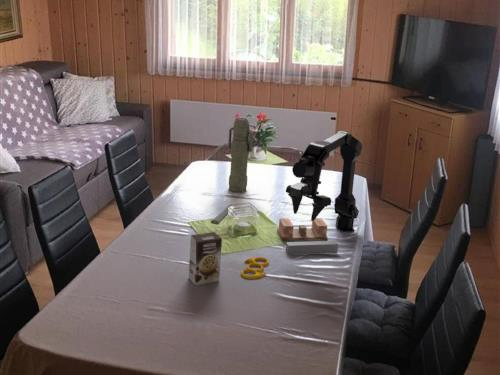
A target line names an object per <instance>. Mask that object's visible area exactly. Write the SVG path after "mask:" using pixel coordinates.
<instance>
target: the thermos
mask: <svg viewBox="0 0 500 375" xmlns="http://www.w3.org/2000/svg"><path fill="white" fill-rule="evenodd" d="M232 135H233V136H232ZM253 143H254V132H253V130H250V122H249V120H248V119H247V118H245V117H238V118H236V119H234V123H233V126H232V127H230V129H228V145H227V146H228V149H229V150H230V156H231V160H230V174H229V177H228V191H230V192H231V193H237V194H239V193H241V194H242V193H245V192H247V186H248V160H249V159H248V158H249V156H250V152H252V151H253Z"/></svg>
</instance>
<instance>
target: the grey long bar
mask: <svg viewBox="0 0 500 375" xmlns="http://www.w3.org/2000/svg"><path fill="white" fill-rule="evenodd" d="M338 251H339V243H338V242H337V240H311V241H289V242H288V241H287V242H286V243H285V253H286V254H287V255H307V254H308V255H310V254H312V255H313V254H314V255H315V254H337V253H338Z"/></svg>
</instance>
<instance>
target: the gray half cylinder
mask: <svg viewBox="0 0 500 375" xmlns="http://www.w3.org/2000/svg"><path fill="white" fill-rule="evenodd" d="M229 206H233V205H232V204H230V205H228V206H227V207H226V208H225V209H223V210H222V211H221V212H220V213H219V214H218V215H217V216H215V217H214V218H213V219H212V220H211V221H210V222H211V223H215V224H218V223H219V224H220V222H221V221H222V220H223V219H224V218H225V217H226V216H227V215H228V207H229ZM228 216H229V215H228ZM228 216H227V217H228ZM227 217H226V218H227ZM226 218H225V219H226ZM225 219H224V220H225ZM224 220H223V221H224ZM223 221H222V222H223ZM222 222H221V223H222Z"/></svg>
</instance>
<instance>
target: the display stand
mask: <svg viewBox="0 0 500 375" xmlns="http://www.w3.org/2000/svg"><path fill="white" fill-rule="evenodd" d="M278 221H279V223H278V228H277V229H276V233H277V234H278V236H279V238H280V240H281V241H283V242H284V241H287V242H288V241H328V238H329V237H328V236H327V232H328V224H327V223H326V222H325V220H324V219H323V218H322V217H319V218H318V217H316V218H315V220H314V221H311V228H310V227H309V228H308V227H306V225H305V224H299V225H298V228H294V226H295V225H294V224H293V223H292V221H291V219H290V218H289V217H287V218H286V217H285V218H281V217H280V218H279V220H278Z"/></svg>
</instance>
